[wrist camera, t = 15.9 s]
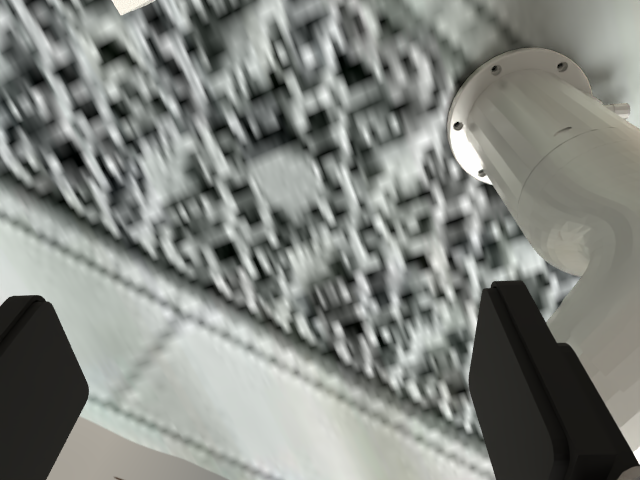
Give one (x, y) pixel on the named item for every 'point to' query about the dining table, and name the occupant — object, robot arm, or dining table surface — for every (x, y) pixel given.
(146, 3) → the die
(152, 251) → the dining table surface
